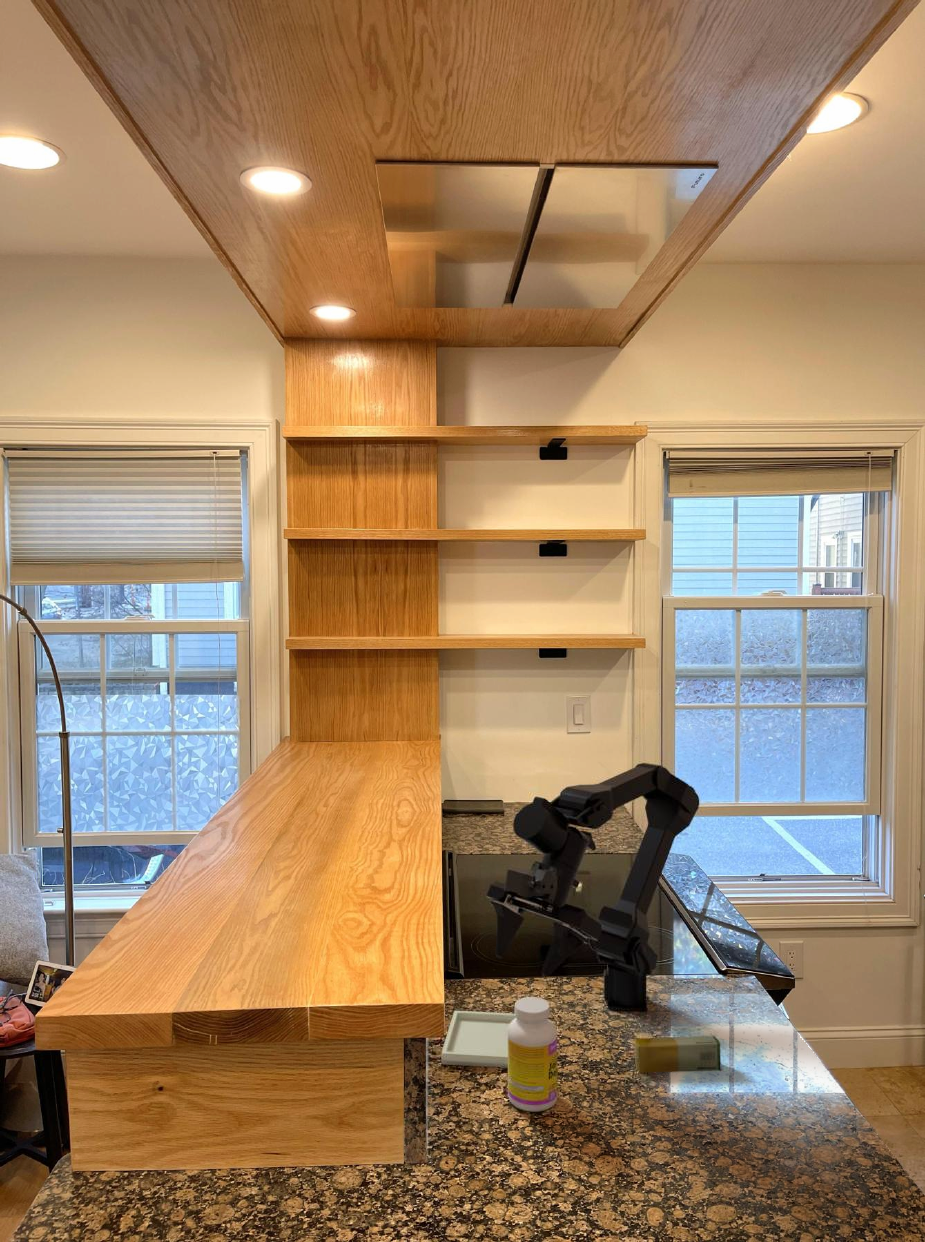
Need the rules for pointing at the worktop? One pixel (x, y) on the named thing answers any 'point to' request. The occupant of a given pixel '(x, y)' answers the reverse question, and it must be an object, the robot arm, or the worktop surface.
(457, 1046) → the tray
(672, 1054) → the medication box
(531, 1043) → the supplement bottle
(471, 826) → the worktop surface
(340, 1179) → the worktop surface
